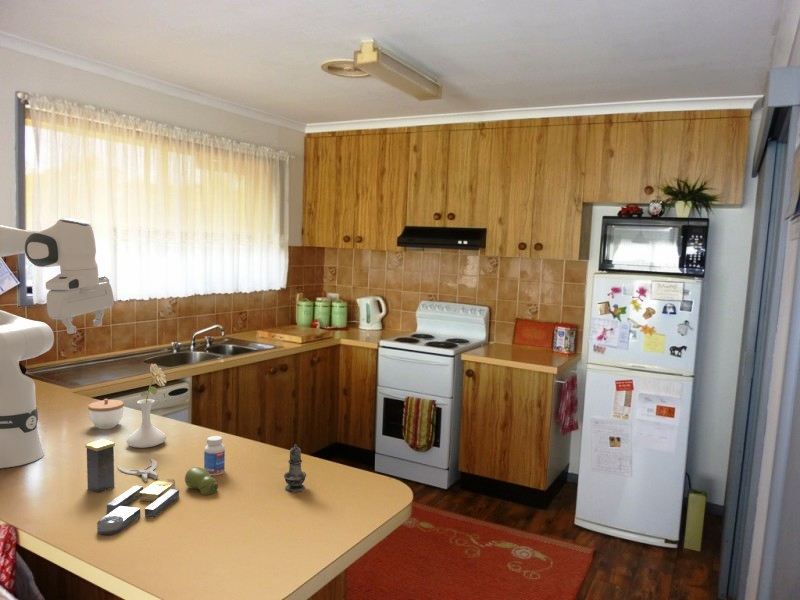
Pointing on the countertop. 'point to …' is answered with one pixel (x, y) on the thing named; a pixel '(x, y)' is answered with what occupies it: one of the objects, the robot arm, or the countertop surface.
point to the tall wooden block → (100, 465)
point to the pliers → (142, 471)
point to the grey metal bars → (131, 510)
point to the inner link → (157, 489)
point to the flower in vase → (148, 416)
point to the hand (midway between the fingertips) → (85, 329)
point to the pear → (201, 481)
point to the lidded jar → (106, 413)
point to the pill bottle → (214, 456)
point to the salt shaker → (295, 472)
